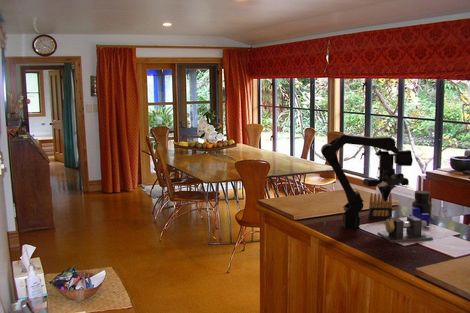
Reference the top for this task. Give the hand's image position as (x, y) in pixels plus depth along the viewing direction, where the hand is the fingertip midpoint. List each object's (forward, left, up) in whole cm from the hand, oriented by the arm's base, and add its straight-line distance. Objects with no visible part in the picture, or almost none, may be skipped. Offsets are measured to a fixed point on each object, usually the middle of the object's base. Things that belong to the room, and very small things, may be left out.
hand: (385, 201), depth 221 cm
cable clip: (+19, +3, -12) cm, 23 cm away
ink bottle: (+26, +14, -12) cm, 32 cm away
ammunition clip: (+6, +16, -12) cm, 21 cm away
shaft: (+3, -14, -10) cm, 17 cm away
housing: (+2, -14, -12) cm, 19 cm away
